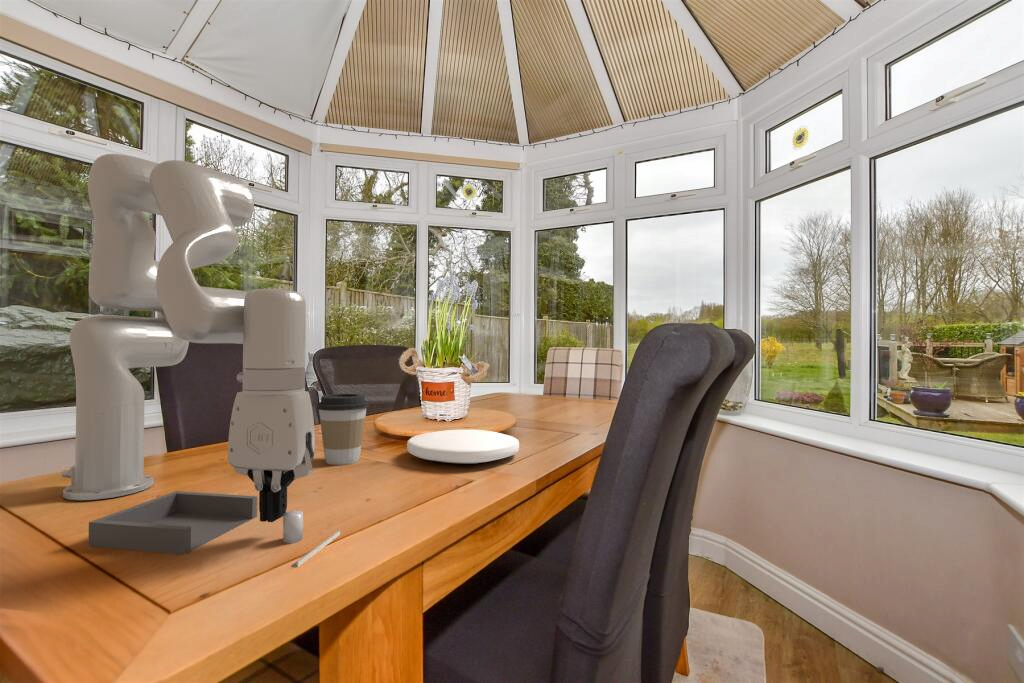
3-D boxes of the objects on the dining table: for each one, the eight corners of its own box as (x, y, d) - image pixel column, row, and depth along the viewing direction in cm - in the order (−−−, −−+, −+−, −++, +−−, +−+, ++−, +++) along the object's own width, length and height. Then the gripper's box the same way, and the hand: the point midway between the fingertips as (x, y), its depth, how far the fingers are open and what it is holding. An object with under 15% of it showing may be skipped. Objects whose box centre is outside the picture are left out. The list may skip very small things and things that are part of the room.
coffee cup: (373, 455, 116) (374, 393, 116) (360, 467, 105) (361, 398, 105) (325, 455, 115) (326, 393, 115) (307, 467, 104) (308, 398, 104)
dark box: (88, 553, 61) (88, 522, 61) (176, 516, 74) (176, 491, 74) (183, 562, 59) (184, 529, 59) (256, 523, 72) (257, 496, 72)
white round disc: (433, 425, 132) (528, 430, 127) (431, 449, 132) (527, 455, 126) (387, 432, 105) (506, 439, 100) (385, 463, 104) (504, 471, 99)
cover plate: (210, 563, 60) (210, 523, 60) (263, 532, 70) (263, 497, 70) (297, 571, 58) (298, 530, 58) (339, 538, 68) (340, 503, 68)
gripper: (203, 382, 62) (201, 525, 62) (310, 385, 60) (308, 533, 60) (244, 378, 69) (242, 505, 69) (340, 380, 67) (339, 512, 67)
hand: (273, 518), depth 64 cm, fingers closed
